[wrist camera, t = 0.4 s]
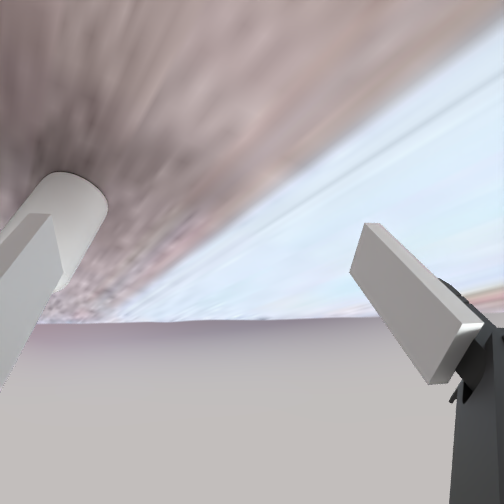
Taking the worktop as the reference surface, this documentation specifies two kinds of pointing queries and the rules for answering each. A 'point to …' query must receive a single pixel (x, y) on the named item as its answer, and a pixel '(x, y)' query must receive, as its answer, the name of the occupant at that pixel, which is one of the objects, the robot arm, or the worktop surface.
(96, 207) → the pill bottle
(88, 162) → the worktop surface
